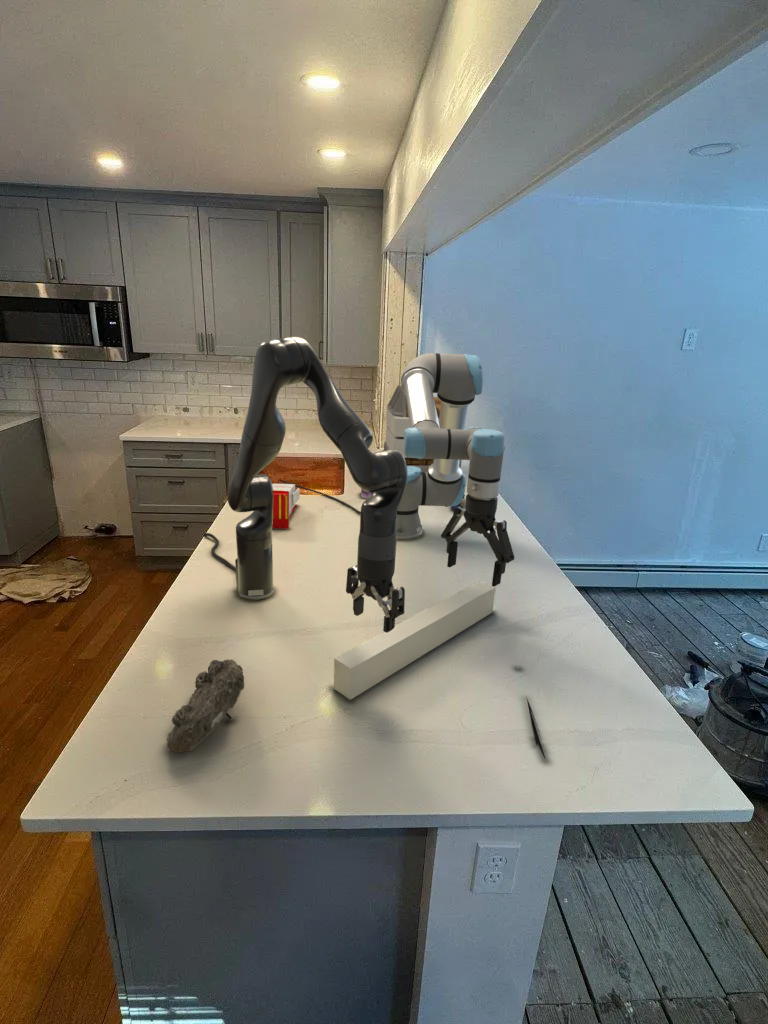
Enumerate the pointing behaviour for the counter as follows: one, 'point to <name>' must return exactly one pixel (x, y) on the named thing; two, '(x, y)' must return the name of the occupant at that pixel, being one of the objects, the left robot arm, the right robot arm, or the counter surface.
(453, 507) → the figurine character
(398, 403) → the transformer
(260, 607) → the counter surface
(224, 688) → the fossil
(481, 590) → the beam
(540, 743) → the feather
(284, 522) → the toy
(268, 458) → the left robot arm
